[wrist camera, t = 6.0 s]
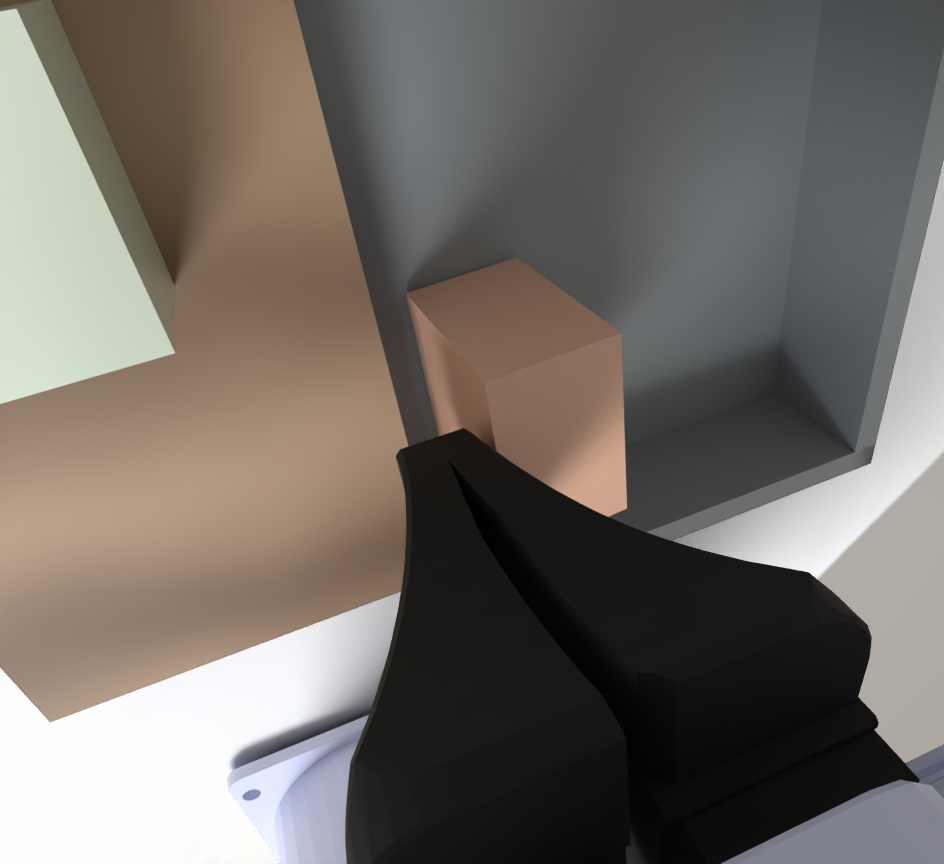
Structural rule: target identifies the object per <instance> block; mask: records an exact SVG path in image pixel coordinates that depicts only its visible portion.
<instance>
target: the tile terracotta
mask: <svg viewBox="0 0 944 864" xmlns="http://www.w3.org/2000/svg"><path fill="white" fill-rule="evenodd" d="M406 297H407V302H408V306H409V310H410V315H411V319H412V323H413V328H414V332H415V336H416V341H417V345H418V349H419V354H420V358H421V363H422V367H423V371H424V376H425V380H426V384H427V389H428V393H429V397H430V402H431V406H432V411H433V415H434V419H435V424H436V428H437V432H438V436H441V435H444V434H447V433H450V432H453V431H456V430H459V429H462V428H464V429H466V430H468V431H470V432H471V433H473V434H474V435H475V436H476V437H478V438H479V439H480V440H482V441H483V442H484V443H486V444H487V445H488V446H490V447H491V448H492V449H494V450H495V451H497V452H498V453H499V454H501V455H502V456H504V457H505V458H507V459H508V460H509V461H511V462H512V463H514V464H515V465H517V466H518V467H520V468H521V469H523V470H524V471H526V472H528V473H529V474H531V475H532V476H534V477H536V478H537V479H539V480H540V481H542V482H543V483H545V484H547V485H548V486H550V487H552V488H554V489H555V490H557V491H559V492H560V493H562V494H564V495H566V496H568V497H570V498H571V499H573V500H575V501H577V502H579V503H581V504H583V505H585V506H587V507H588V508H590V509H592V510H595V511H597V512H599V513H601V514H603V515H605V516H608V517H609V516H611V515H613V514H615V513H618V512H620V511H622V510H625V509H627V491H626V460H625V429H624V398H623V367H622V336H621V332H619V331H618V330H617V329H615V328H614V327H612V326H611V325H610V324H608V323H607V322H606V321H604V320H603V319H601V318H600V317H599V316H597V315H596V314H595V313H593V312H592V311H590V310H589V309H588V308H586V307H585V306H583V305H582V304H581V303H579V302H578V301H577V300H575V299H574V298H572V297H571V296H570V295H568V294H567V293H565V292H564V291H563V290H561V289H560V288H559V287H557V286H556V285H554V284H553V283H552V282H550V281H549V280H548V279H546V278H545V277H543V276H542V275H541V274H539V273H538V272H536V271H535V270H534V269H532V268H531V267H530V266H528V265H527V264H525V263H524V262H523V261H521V260H520V259H518V258H517V257H516V258H513V259H510V260H507V261H504V262H501V263H498V264H495V265H491V266H488V267H485V268H482V269H479V270H476V271H473V272H470V273H467V274H464V275H461V276H457V277H454V278H451V279H448V280H445V281H442V282H439V283H436V284H433V285H430V286H427V287H423V288H420V289H417V290H414V291H411V292H408V293H406Z"/></svg>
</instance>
